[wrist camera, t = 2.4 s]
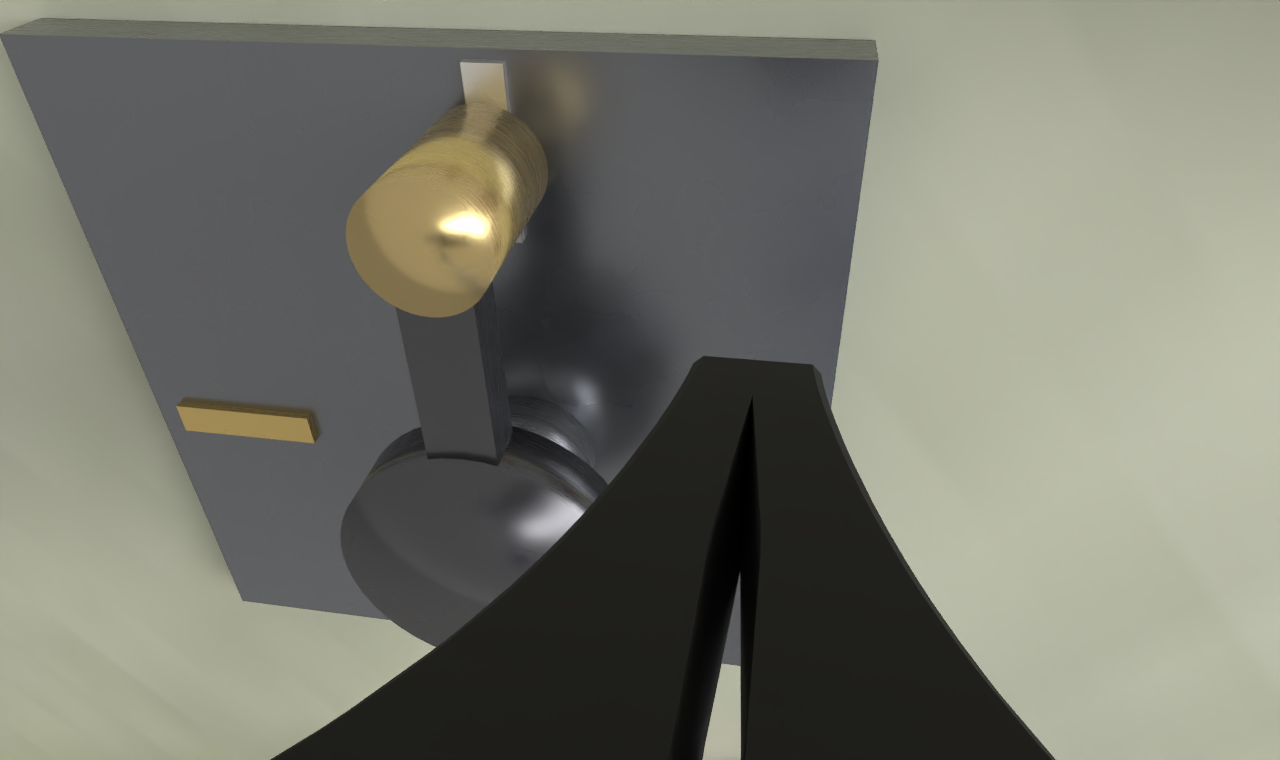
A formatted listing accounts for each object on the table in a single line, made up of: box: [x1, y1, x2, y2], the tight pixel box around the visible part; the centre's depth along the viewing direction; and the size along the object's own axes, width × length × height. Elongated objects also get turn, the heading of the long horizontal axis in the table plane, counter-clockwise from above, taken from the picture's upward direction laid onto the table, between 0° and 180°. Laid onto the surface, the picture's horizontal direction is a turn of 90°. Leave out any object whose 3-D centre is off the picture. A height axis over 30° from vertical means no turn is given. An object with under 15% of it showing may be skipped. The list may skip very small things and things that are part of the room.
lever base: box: [0, 18, 878, 666], centre depth 21 cm, size 17×17×4 cm
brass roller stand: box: [340, 103, 608, 647], centre depth 18 cm, size 12×6×4 cm, turn 1°
